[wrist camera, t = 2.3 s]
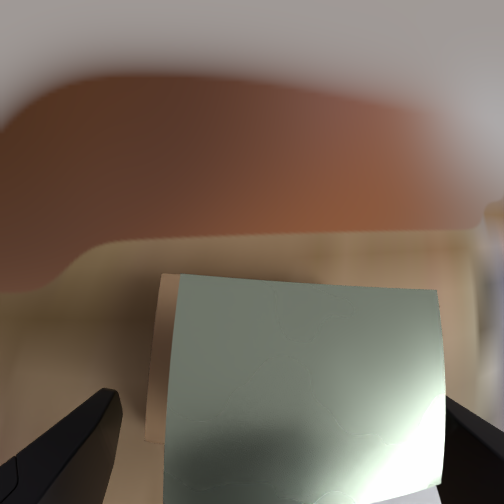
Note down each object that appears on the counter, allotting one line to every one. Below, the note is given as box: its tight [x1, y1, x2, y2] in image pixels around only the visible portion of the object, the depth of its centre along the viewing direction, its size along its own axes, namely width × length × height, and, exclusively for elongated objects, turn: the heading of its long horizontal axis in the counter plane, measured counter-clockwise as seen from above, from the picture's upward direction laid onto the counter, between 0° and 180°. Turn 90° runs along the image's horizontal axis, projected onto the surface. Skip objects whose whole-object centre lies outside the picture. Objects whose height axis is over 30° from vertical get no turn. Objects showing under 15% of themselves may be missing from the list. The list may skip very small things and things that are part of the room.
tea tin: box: [163, 274, 445, 504], centre depth 9 cm, size 4×5×9 cm
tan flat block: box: [144, 273, 180, 444], centre depth 15 cm, size 8×10×3 cm
